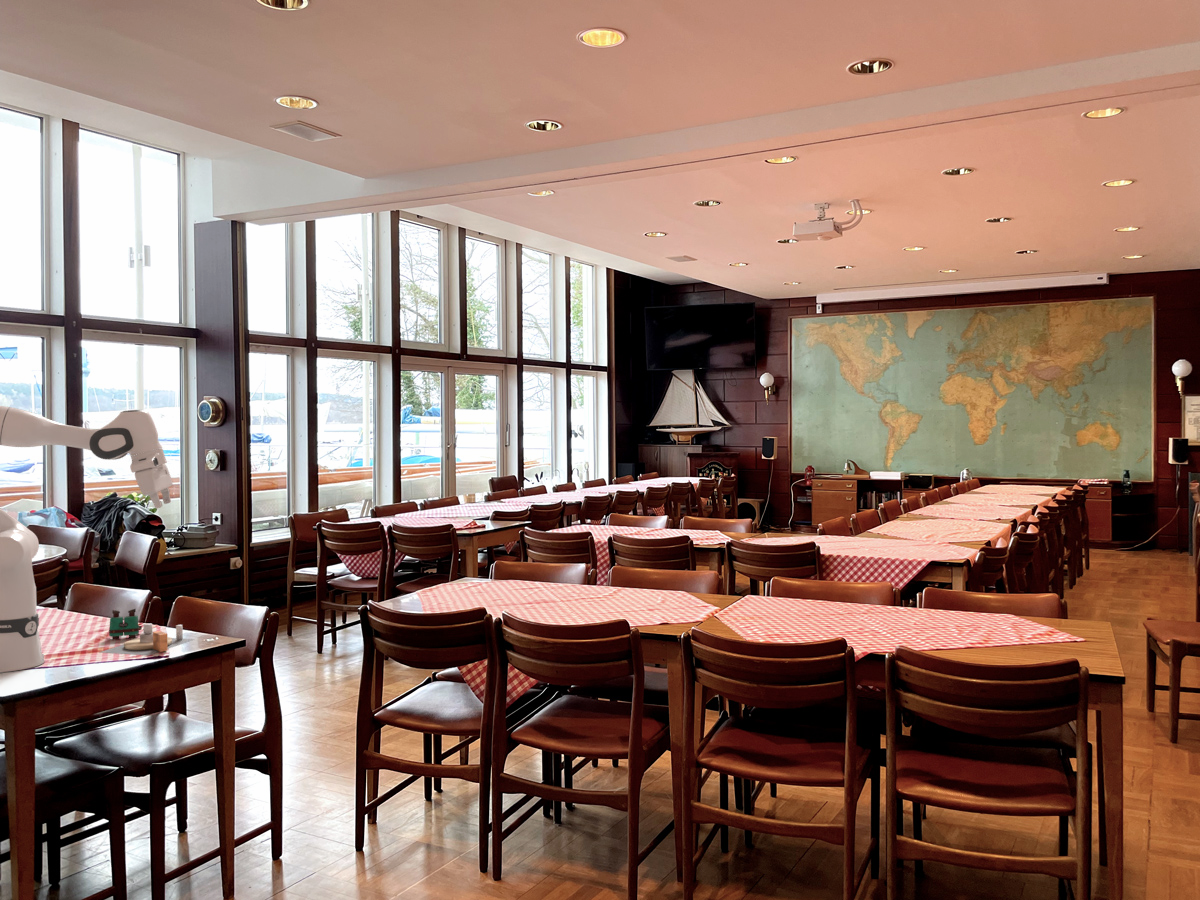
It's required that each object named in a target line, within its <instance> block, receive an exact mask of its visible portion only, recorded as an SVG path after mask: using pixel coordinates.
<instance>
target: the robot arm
mask: <svg viewBox="0 0 1200 900" xmlns="http://www.w3.org/2000/svg"><path fill="white" fill-rule="evenodd" d="M0 446H4V447H14V448H35V447H43V446H63V447H64V446H65V447H71V448H76V449H81V450H88V451H91V453H92V454H93V455H94V456H96V457H97V458H100V459H102V460H108V461H109V460H110V461H111V460H113V461H114V460H120V459H123V458H125V457H126V455H128V454H129V456H130V459H131V464H130V472H132V473H134V477H135V480H136V482H137V486H138V488H139V491H140V492H141V494H142V496H144V497H148V496H149V499H150V500H151V502H152V503H153V505H154V506H153V507H154V508H155V509H159V508H163V504H164V505H166V504H171V502H172V501H171V500H172V499H171V496H170V495H171V494H170V487H172V486H173V480H172V476H171V475H170V471H169V469H168V467H167V465H166V464H167V459H166V456H165V453H164V450H163V449H164V448H163V447H162V445H161V443H160V440H159V433H158V431H157V427H156V425H155V422H154V420H153V418H152V416H151V414H150V413H149V412H147V411H146V410H145V409H144V410H143V409H130V410H123V411H120V412H119V414H118V415H117V416H116V417H115V418H114V419H113V420H112V421H111V422H109V423H108V424H106V425H104V426H103V427H101V428H87V427H81V426H74V425H70V424H69V425H68V424H65V423H59V422H57V421H54V420H51V419H49V418H47V417H44V416H42V415H39V414H36V413H34V412H31V411H28V410H24V409H20V408H16V407H11V406H6V405H0ZM159 492H160V493H161V495H162V500H160V497H159ZM162 502H163V503H162ZM39 545H40V543H39V539H38V536H37V535H36V533H34V532H33V531H32V530H30V529H29V528H28V527H26V526H25V525H24V524H23V523H21V522H20V521H19V520H18V519H16V518H15V517H13V516H12V515H10V514H9V513H8V512H7V511H6V510H4V509H2V508H0V673H4V672H13V671H21V670H26V669H30V668H34V667H37V666H40V665H42V664H44V663H45V659H44V658H45V655H44V653H43V652H42V645H41V638H40V633H39V630H38V629H39V626H40V624H39V622H40V617H39V613H37V609H38V608H37V586H36V583H35V577H34V576H35V575H34V571H33V569H34V568H33V558H35V556H36V555H37V553H38V551H39V549H40V546H39Z"/></svg>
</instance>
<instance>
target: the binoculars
mask: <svg viewBox="0 0 1200 900" xmlns="http://www.w3.org/2000/svg"><path fill="white" fill-rule="evenodd" d="M136 609H137V608H133V609H129V610H128V611H127V612H128V615H127V616H124V617H123V616H120V614H121V611H120V610H114V609H112V614H113V615H112V617H110V618H109V630H108V634H109V635H108V636H109V637H112V641H116V640H120V638H121V637H123V636H125V637H126V636H128V639H131V640H133V639H137V638H136V637H138V636H140V634H141V633H140V631H141V630H142V625H140V624H139V617H138V615H136V614H135V613H136Z"/></svg>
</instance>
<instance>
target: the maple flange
mask: <svg viewBox="0 0 1200 900" xmlns="http://www.w3.org/2000/svg"><path fill="white" fill-rule="evenodd" d="M139 634H140V635H139V637H137V638H132V639H131V640H127V641H124V643H123V644H124V648H125V649H129V650H146V649H155V650H157V651H160V653H161V652H167V651H168V650H169V649H168V645H170V644H171V643H172V638H173V637H169V636H168V633H166V632H164V631H162V630H161V631H160V630H157V631H152V633H149V634H144V632H141V633H139Z"/></svg>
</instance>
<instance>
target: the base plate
mask: <svg viewBox="0 0 1200 900" xmlns="http://www.w3.org/2000/svg"><path fill="white" fill-rule="evenodd" d="M183 628H184V627H183V624H177V625H175V633H176V634H175V637H171V638H172V643H171V644H170V645H168V650H169V649H172V648H173V647H177V646H179V645H182V644H183V645H184V644H186V643H188V642H191V641H195V639H194V638H183V637H184V636H183ZM152 632H153V623H144V624H143V633H144V634H149V633H152ZM159 652H160V651H157V650H155V649H146V650H129V649H125V648H124V643H122V644H121V645H118V646H115V647H111V648H108V649H105V650H103V651H100V652H99V653H100V654H101V653H103V654H118V655H133V656H134V655H136V656H138V655H139V656H152V655H154V654H158V653H159ZM160 653H161V652H160Z"/></svg>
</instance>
